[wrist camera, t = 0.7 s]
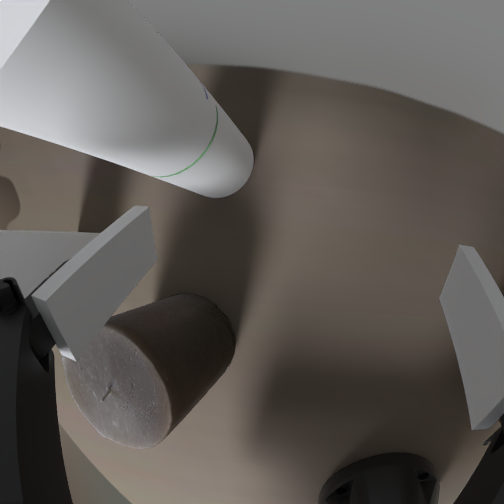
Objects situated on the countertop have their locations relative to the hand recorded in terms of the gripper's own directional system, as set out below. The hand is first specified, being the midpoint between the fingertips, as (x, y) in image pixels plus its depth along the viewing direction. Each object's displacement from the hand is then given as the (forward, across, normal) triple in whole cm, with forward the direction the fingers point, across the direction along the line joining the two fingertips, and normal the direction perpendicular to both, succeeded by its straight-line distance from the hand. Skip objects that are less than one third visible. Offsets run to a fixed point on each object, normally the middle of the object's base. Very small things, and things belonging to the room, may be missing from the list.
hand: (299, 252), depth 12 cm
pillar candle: (+9, +11, +18) cm, 23 cm away
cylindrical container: (+18, +10, +2) cm, 20 cm away
